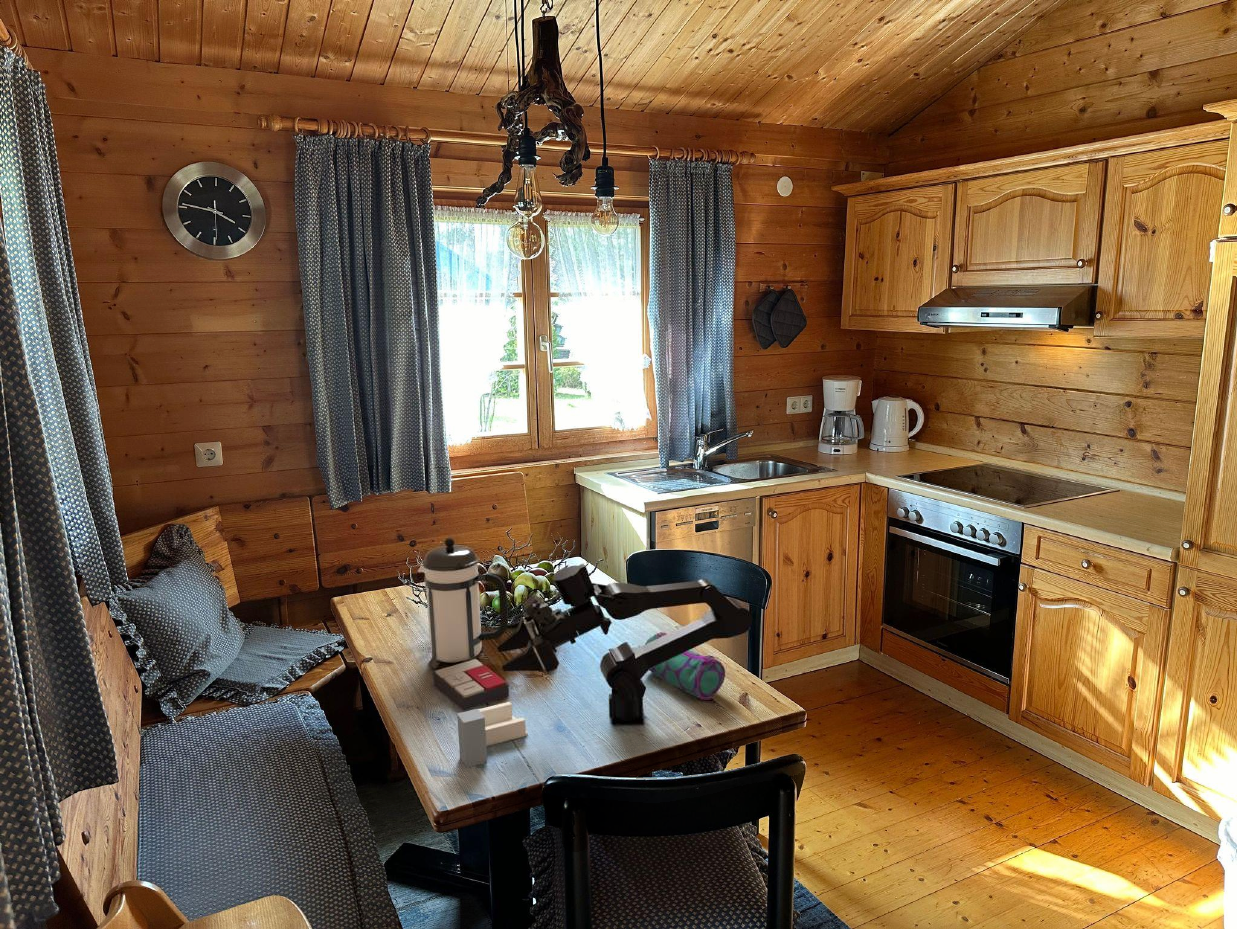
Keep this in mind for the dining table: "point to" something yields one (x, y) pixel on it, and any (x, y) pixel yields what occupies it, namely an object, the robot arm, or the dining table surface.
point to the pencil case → (691, 672)
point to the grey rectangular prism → (472, 738)
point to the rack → (502, 724)
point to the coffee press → (457, 603)
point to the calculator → (470, 684)
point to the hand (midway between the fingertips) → (500, 659)
